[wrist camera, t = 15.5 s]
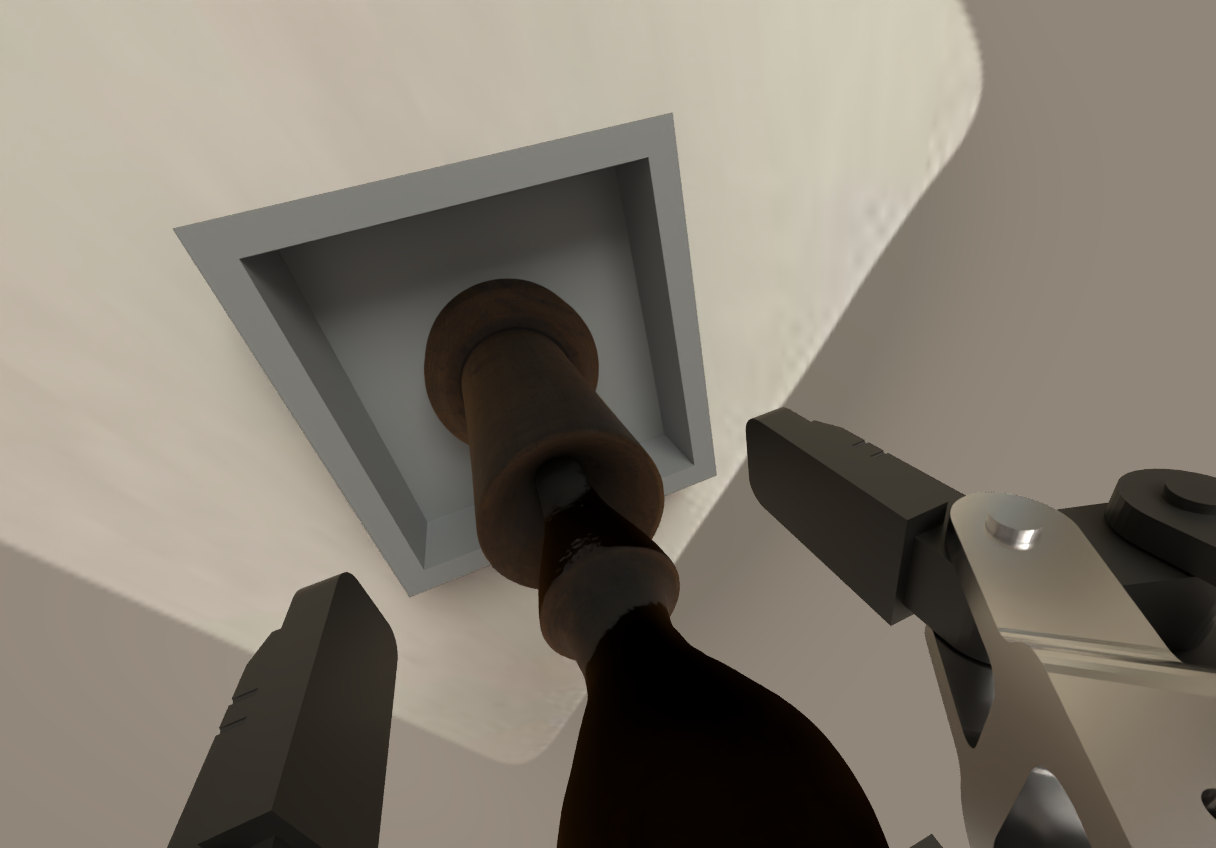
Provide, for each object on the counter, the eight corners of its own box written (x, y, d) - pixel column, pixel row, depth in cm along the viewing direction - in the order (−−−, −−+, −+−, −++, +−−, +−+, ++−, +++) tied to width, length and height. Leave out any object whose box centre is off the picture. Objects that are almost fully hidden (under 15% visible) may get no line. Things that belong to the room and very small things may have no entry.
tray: (415, 535, 21) (409, 597, 18) (237, 225, 15) (172, 228, 11) (678, 437, 24) (716, 475, 20) (627, 132, 17) (672, 112, 14)
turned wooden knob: (570, 437, 21) (920, 1080, 5) (421, 428, 19) (276, 1528, 3) (598, 292, 18) (1369, 702, 3) (430, 262, 16) (-15, 1409, 1)
